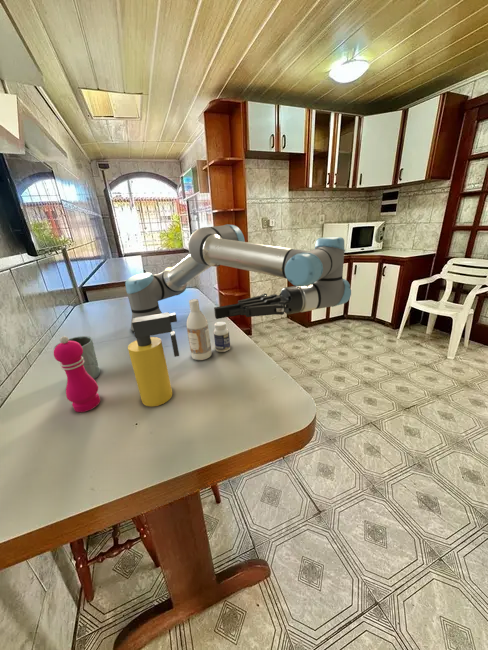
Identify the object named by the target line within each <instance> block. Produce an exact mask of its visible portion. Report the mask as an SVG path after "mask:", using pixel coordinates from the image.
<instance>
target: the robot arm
mask: <svg viewBox="0 0 488 650" xmlns="http://www.w3.org/2000/svg"><path fill="white" fill-rule="evenodd" d="M187 249H188V250H187V251H188V253H189V254H188V255H187V256H185V258H183V259H181V261H180V262H178V263H177V264H176V265H174V266H168V267H166V268H165V269H164V270H163V271H162V272H160V273H156V274H152V273H151V272H143V273H138V274H135V275H133V276H131V277H128V278H127V279H126V281H125V282H124V284H125V292H126V294H127V299H128V303H129V306H130V310H131V319H130V320H131V321H130V329H131V332H132V333H134V330H133V326H132V320H133V318H136V317H142V316H148V315H155V314H161V313H163V312H162V311H161V309H160V304H159V302H160V301H163V300H166V299H169V298H172V297H176V296H180V295H181V294H183V293H184V292H185V291H186V290H187V286H188V283H189V282H191V281H192V280H194V279H195V278H196V277H198V276H199V275H201V274H202V273H204V272H205V271H207V270H208V269H209V268H211V267H219V266H224V267H230V268H234V269H238V270H243V271H247V272H252V273H253V272H254V273H257V274H262V275H267V276H273V277H276V278H280V279H281V278H282V279H286V280H287V281H288V282H289V283H291V284H292V285H293V286H286V287H283V288H282V289H281V290H280V293H279V294H276V293H273V294H270V295H268V293H263V294H260V295H256V296H252V297H248V298H245V299H240V300H238V301H237V303H233V304H227V305H221V306H215V307H214V309H213V310H214V317H215V319H216V320H219V319H224V318H230V317H236V316H245V317H246V318H252V317H254V318H255V317H263V316H275V315H276V316H277V315H278V316H279V315H280V316H283V315H285V314H286V315H293V314H299V313H305V312H310V311H314V310H315V311H316V310H319V309H325V308H330V307H331V308H333V307H337V306H340V305H344V304H347V302H348V301H349V300H350V298H351V296H352V289H351V284H350V282H349V281H348V280H347V279H346V278H343V277H344V276H343V274H344V260H345V252H346V249H345V238H343V237H342V236H322V237H318V238H316V241H315V246H314V249H313V248H312V249H310V250H304V249H298V248H297V249H296V248H291V247H284V246H278V245H277V246H276V245H270V244H262V243H255V242H250V241H249V242H248V241H246V240H245V236H244V234H243V231H242V230H241V229H240V227H238V226H237V225H235V224H228V223H227V224H224V225H217V226H215V225H214V226H204V227H203V226H202V227H200V228H197V229H196V230H195V231H193V233H192V234H190V236H189V238H188V243H187Z"/></svg>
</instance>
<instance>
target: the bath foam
mask: <svg viewBox="0 0 488 650" xmlns="http://www.w3.org/2000/svg"><path fill="white" fill-rule="evenodd" d="M188 303H189V310H190V311H189V314H188V316H187V317H186V318H187V319H186V330H187V331H186V332H187V338H188V343H189V350H190V355H191V358H192V359H193V360H195V361H204V360H208V359H209V358H210V357H211V356H212V354H213V352H212V344H211V337H210V330H209V329H210V327H209V322H208V320H207V317H206V316H205V314H204V313H203V312H202V311H201V310H200V302H199V299H197V298H193V299H190V300H188Z"/></svg>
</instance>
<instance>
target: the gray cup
mask: <svg viewBox="0 0 488 650" xmlns="http://www.w3.org/2000/svg"><path fill="white" fill-rule="evenodd" d="M68 339H69V341H76V342H78V343H79V344H80V345H81V346H82V348H83V353H82V355H81V356H82V357H83V360H84V364H83V365H84V368H85V370H86V372H87V373H88V374H89V375H90V376H91V377H92V378H93V379H94V380H96V378H98V377H99V376H100V374H101V370H100V367H99V363H98V359H97V354H96V350H95V345H94V340H93V338H92V337H91V336H90V335H89V336H88V335H79V336H75V337H71V338H68ZM60 343H61V342H60V341H59V343H57V344H56V345H54V346H53V350H54V349H55V347H56V346H57V345H58V344H60ZM60 363H61V362H59V364H60ZM63 371H64V372H65V370H63Z"/></svg>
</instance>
